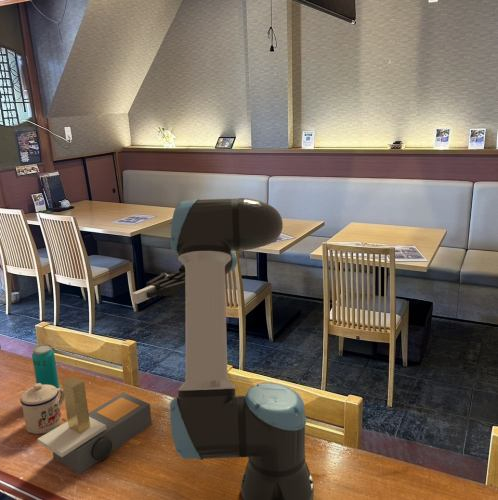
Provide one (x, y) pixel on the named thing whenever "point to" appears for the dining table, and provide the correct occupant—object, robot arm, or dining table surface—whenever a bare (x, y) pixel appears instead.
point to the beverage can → (45, 365)
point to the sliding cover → (72, 421)
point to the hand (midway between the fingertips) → (134, 298)
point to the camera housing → (110, 431)
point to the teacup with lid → (42, 408)
